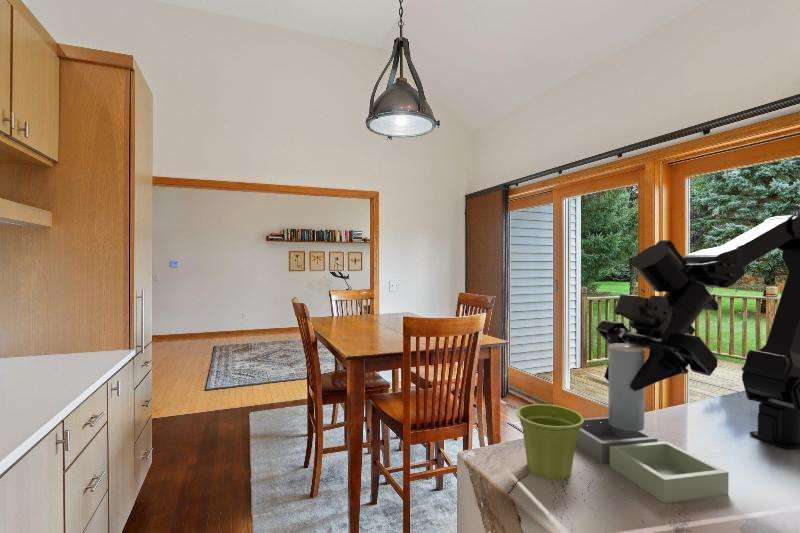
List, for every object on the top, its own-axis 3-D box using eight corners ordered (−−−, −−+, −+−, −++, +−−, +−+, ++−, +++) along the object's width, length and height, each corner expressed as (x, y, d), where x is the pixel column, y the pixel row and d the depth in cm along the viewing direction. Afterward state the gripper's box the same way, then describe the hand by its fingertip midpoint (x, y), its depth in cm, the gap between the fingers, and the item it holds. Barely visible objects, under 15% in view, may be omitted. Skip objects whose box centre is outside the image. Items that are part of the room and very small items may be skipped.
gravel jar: (625, 417, 70) (625, 342, 70) (651, 428, 65) (652, 347, 65) (601, 421, 68) (601, 344, 68) (627, 432, 64) (627, 350, 63)
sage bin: (665, 463, 66) (665, 441, 66) (728, 498, 56) (728, 472, 56) (609, 469, 64) (609, 446, 64) (664, 507, 54) (664, 479, 54)
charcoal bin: (612, 435, 77) (612, 416, 77) (657, 460, 67) (657, 438, 67) (563, 439, 75) (563, 420, 75) (601, 466, 65) (601, 443, 65)
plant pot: (590, 492, 58) (590, 428, 58) (518, 484, 59) (519, 423, 59) (575, 461, 67) (576, 406, 67) (514, 455, 69) (514, 402, 69)
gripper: (605, 275, 77) (551, 339, 74) (702, 279, 58) (636, 363, 56) (640, 317, 79) (590, 380, 76) (745, 333, 61) (683, 417, 58)
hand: (619, 384), depth 66 cm, fingers closed on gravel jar, 5 cm apart
